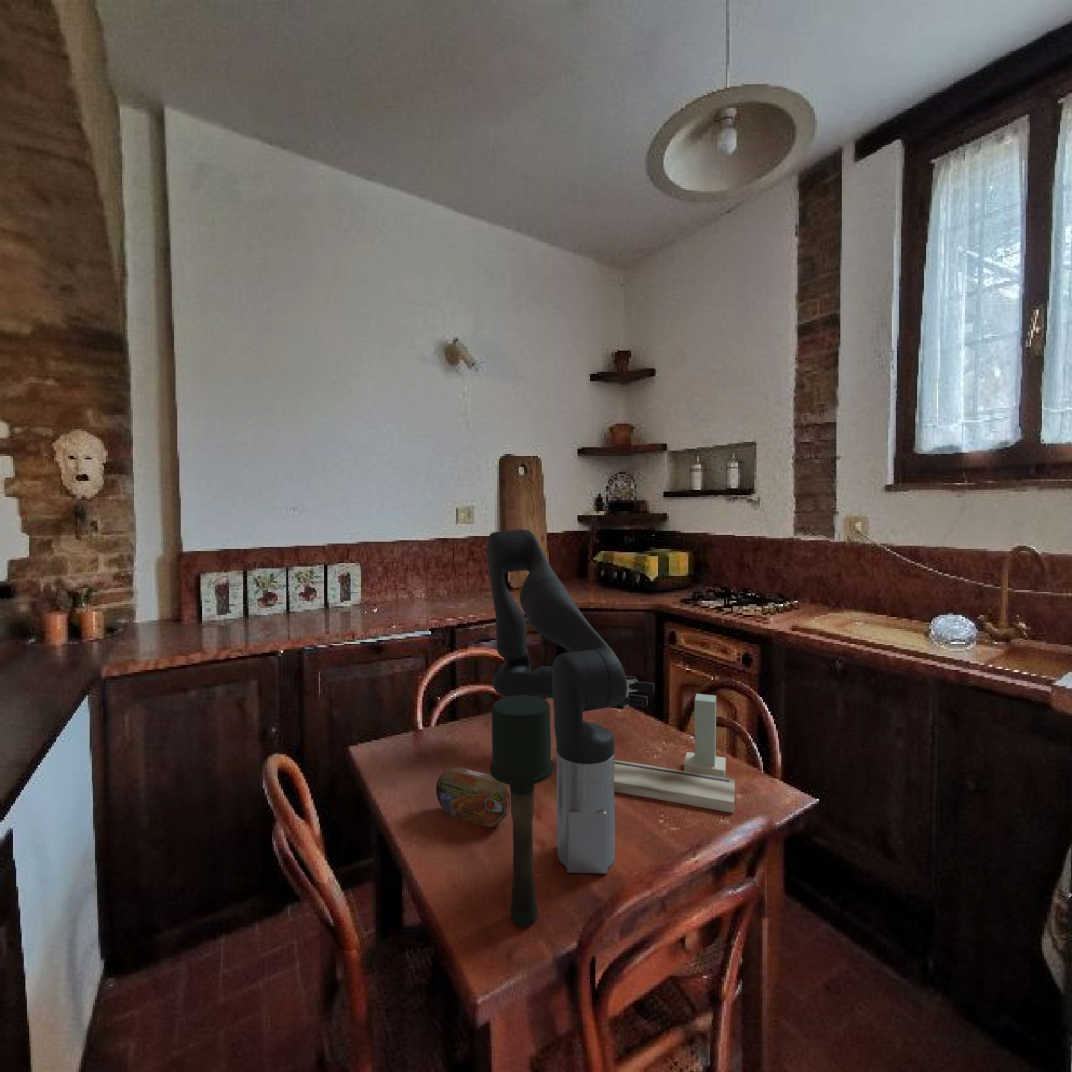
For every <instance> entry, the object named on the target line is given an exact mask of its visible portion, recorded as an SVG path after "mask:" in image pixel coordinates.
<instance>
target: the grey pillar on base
mask: <svg viewBox="0 0 1072 1072" xmlns="http://www.w3.org/2000/svg"><path fill="white" fill-rule="evenodd" d="M694 697H695V698H694V752H690V751H687V752H686V755H685V758H684V763H683V771H688V772H694V773H700V774H707V775H713V776H719V777H725V778H726V769H727V758H726V757H722V756H717V753H716V751H717V749H716V748H717V745H716V744H717V739H716V738H717V695H712V694H702V693H696V694H695V696H694Z"/></svg>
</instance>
